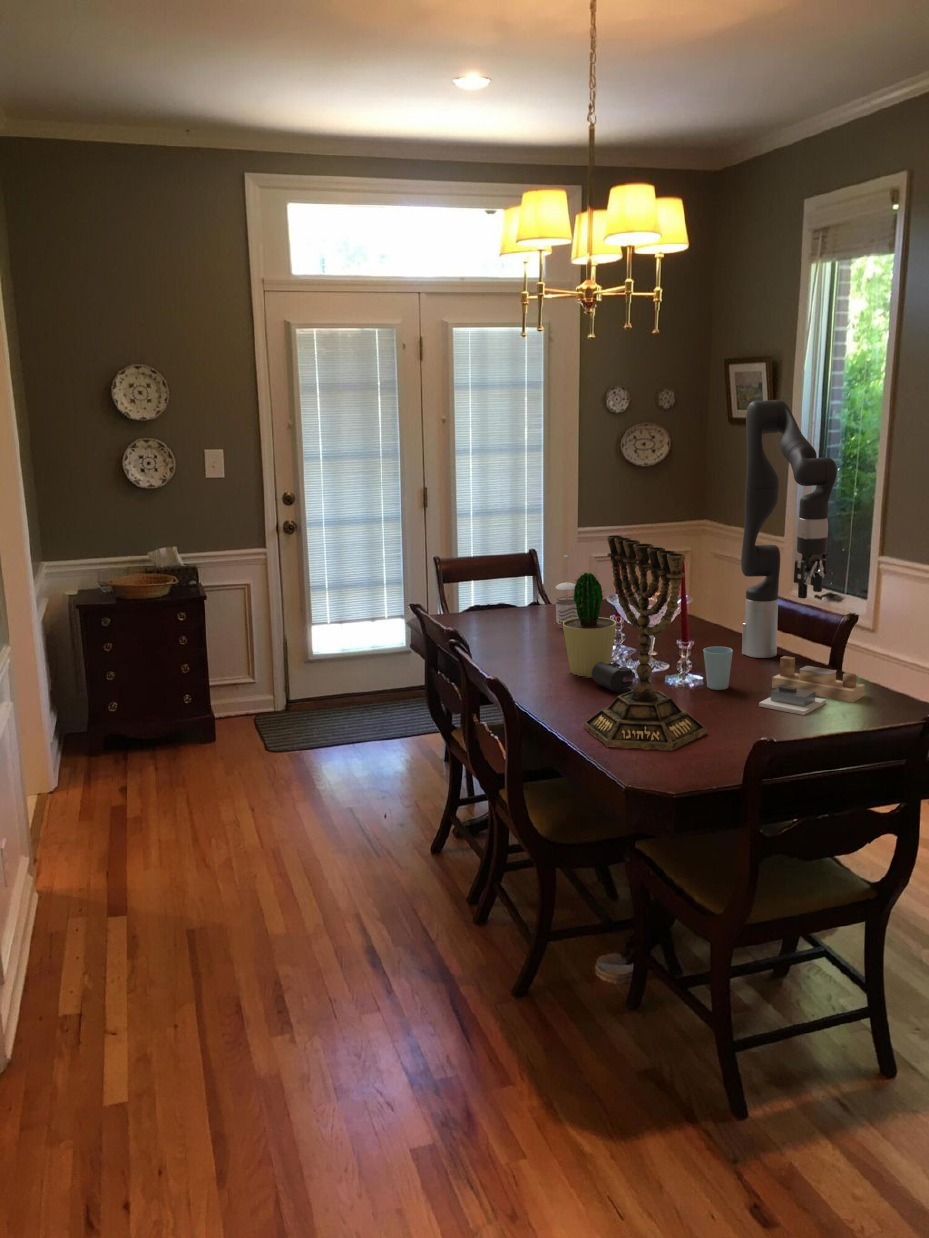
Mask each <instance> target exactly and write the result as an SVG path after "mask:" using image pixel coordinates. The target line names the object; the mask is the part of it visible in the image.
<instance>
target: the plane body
mask: <svg viewBox="0 0 929 1238" xmlns="http://www.w3.org/2000/svg"><path fill="white" fill-rule="evenodd" d="M779 659H780V661H779V673H778V674H776V675H774V676H772V677H771V682H772V683H771V687H772V688H771V689H776V688H779V686H782V685H783V686H788V687H794V688H798V689H803V690H809V691H815V692H816V693H815V697H820V698H824V699H825V698H826V699H831V700H837V701H842V702H848V703H854V702H857V700H859V699H861V698H864V696H865V686H866V685H865V684H864V683H863V684H862V683H857V674H855V673H846V672H845V673H843V674H842V680H839V679H837V678H836V677H837V669H829V668H822V667H816V666H811V665H805V666H803V667H801V668H799V673H795V671H796V657H793V656H788V655H784V656H782V657H780V658H779Z"/></svg>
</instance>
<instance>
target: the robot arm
mask: <svg viewBox="0 0 929 1238" xmlns="http://www.w3.org/2000/svg"><path fill="white" fill-rule="evenodd" d="M745 415H746V416H745V418H746V419H745V429H746V430H745V431H746V474H745V488H744V489H745V491H744V529H743V538H742V539H743V540H742V547H741V548H742V549H741V555H740V557H741V560H740V568H741V572H742V574H743V575H744V576H745V577H751V578H753V577H765V578H764V579H763V580H762V581H761V582H758V583H757V584H755V585H752V586H750V587H748V588H747V589H746V591H745V620H744V622H743V623H742V625H741V626H742V630H741V631H742V632H741V633H742V634H741V635H742V636H741V637H742V639H741V640H742V642H741V643H742V644H741V654H742V655H745V656H748V657H751V658H755V659H756V658H759V659H766V658H774V657H776V656H777V655H778V654H777V649H778V617H779V616H778V615H779V614H778V613H779V612H778V611H779V609H778V608H779V590H780V589H779V587H780V585H779V584H780V571H781V551H780V548H779V546H777V545H776V544H758V545H757V544H756V542H757V539H758V535H759V533H760V530H761V529H762V527H763V525H765V523H766V522H767V520H768V518H769V517H771V515H772V513H773V512H774V510H775V508H776V506H777V504H778V502H779V491H780V490H779V489H780V488H779V487H780V486H779V485H780V483H779V482H780V480H779V476H778V474H777V471H776V470H775V469H774V467H773V465H772V464H771V462H770V460H769V458H768V457H767V454H766V453H765V449H764V446H763V434H776V433H781V434H782V437H781V440H780V451H781V454H782V455H783V457H784V458H785V459H786V460H787V462H788V463H789V464H790V466H791V470H792V473H793V478H794V481H795V483H796V484H798V485H800V486H801V487H809V486H810V487H812V486H814V487H815V486H816V488H815V490H814V491H813V492H810V493H807V494H805V495H802V496H801V497H800V500H799V515H798V523H797V535H796V536H797V538H796V539H797V540H796V541H797V542H796V551H797V553H799V554H801V559H800V560H798V559H797V560H795V561H794V571H793V583H794V584H795V583H796V584H798V585H797V587H798V588H797V589H798V590H797V591H798V592H797V597H798V598H799V599H803V600H804V599H805V600H806V599H807V598H808V583H809V580H810V579H811V578H812V576H813V579H812V580H813V585H812V591H813V592H814V593H821V592H822V591H823V579H824V578H825V576H826V575H828V559H829V558H828V556H829V555H828V553H827V551H828V539H829V538H828V535H829V523H828V515H829V501H830V498H831V496H832V495H831V494H832V491H833V488H834V485H835V483H836V479H837V474H838V468H837V464H836V462H835V461H834V459H832V458H831V457H817V452H816V449H815V448H814V446H813V445H812V444H811V443H810V442H809V441H808V439H806V437H805V436H804V435H803V433H802V432H801V430H800V427H799V425H798V424H797V421H796V419H795V417H794V415H793V412H792V411H791V409H790V407H789V406H788V404H787V403H786V402H785V401H784V400H782V399H769V400H767V399H766V400H754V401H751V402H750V403H749V405H748V406H747V408H746V414H745Z"/></svg>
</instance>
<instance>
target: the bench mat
mask: <svg viewBox="0 0 929 1238" xmlns="http://www.w3.org/2000/svg"><path fill="white" fill-rule="evenodd" d="M826 700H827V698H826V699H825V698H821V697H820V698H819V697H815V702H813V703H811V704H809V705H807V706H805V707H802V706H796V705H791V704H786V703H781V702H775V701H771V696H770V697H768V698H766V699H764V700H762V701H760V702H759V703H758V707H760V708H761V707H762V708H766V709H771V710H775V711H780V712H785V713H792V714H796V715H801V716H806V714H809V713H811V712H813V711H814V710H817V709H818V708H820V707H822V706H823V705H825V704H826V703H827V701H826Z"/></svg>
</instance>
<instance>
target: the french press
mask: <svg viewBox="0 0 929 1238" xmlns="http://www.w3.org/2000/svg"><path fill="white" fill-rule="evenodd" d="M562 558H563V559H564V560H565V573H566V575H565V577H566V581H565V582H562V583H558V584H557V585H556V586H555V587H554V588H555V590H557V591H562V592H563V591H564V592H565V591H566V592H569V591H574V589H575V588H574V587H575V585H576V584H575V585H574V582H573V583H572V582H569V581H568V571H567V570H568V569H567V568H568V567H567V560H568V559H569V558H570V557H569V555H567V554H565V555H563V557H562ZM573 586H574V587H573ZM572 589H573V590H572ZM571 599H574V596H573V597H572V596H568V595H565V596H558V597H557V598H556V600H557V601H556V602H555V611H556V612H555V620H556V622H557V623H558V624H561V623H559V621H560V622H564V621H566V620H569V619H574V618H579V617H578V615H577V613H576V611H577V610H576V603H573V602H574V600H571ZM574 610H575V611H574ZM575 614H576V615H575ZM562 619H565V620H562ZM556 622H555V623H556Z"/></svg>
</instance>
